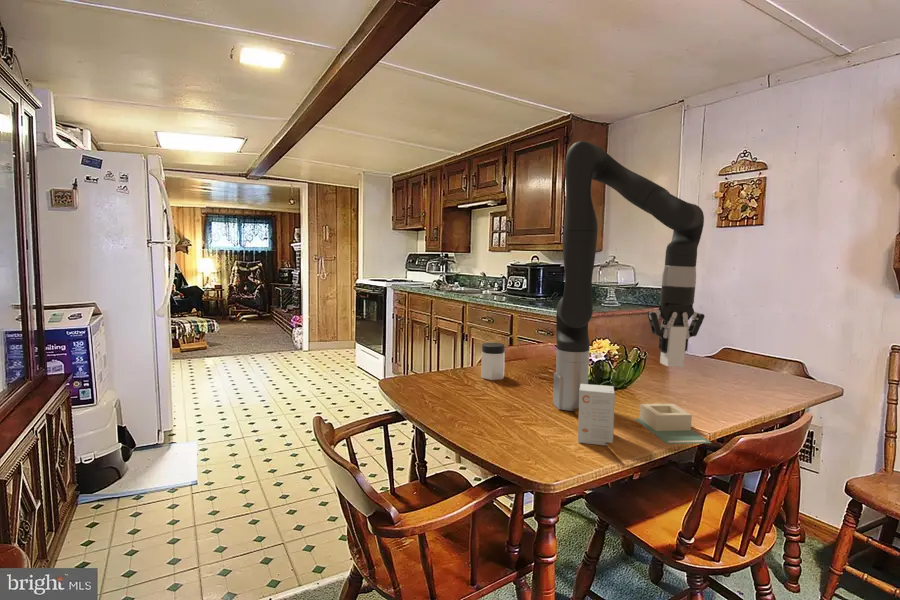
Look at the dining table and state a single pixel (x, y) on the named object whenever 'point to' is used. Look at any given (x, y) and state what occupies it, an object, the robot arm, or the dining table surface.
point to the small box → (596, 414)
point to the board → (676, 435)
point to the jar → (492, 361)
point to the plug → (675, 347)
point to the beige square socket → (665, 417)
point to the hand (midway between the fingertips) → (672, 352)
